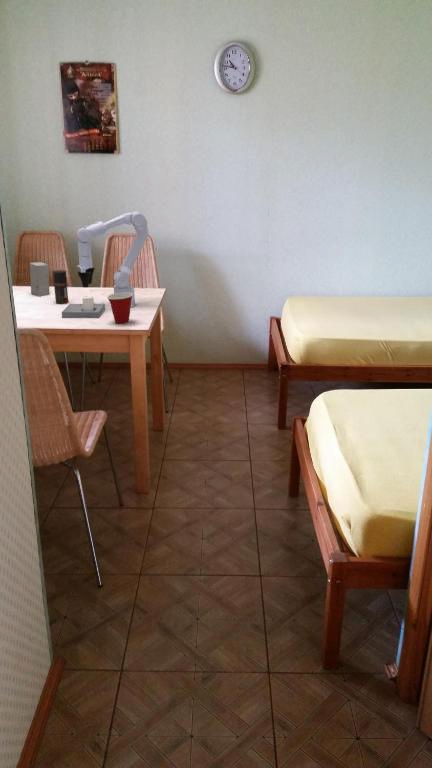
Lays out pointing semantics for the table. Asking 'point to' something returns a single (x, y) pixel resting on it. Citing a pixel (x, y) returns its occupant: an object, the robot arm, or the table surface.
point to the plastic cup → (120, 306)
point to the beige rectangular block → (88, 303)
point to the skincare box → (39, 279)
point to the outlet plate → (78, 312)
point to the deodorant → (60, 287)
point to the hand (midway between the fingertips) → (87, 285)
